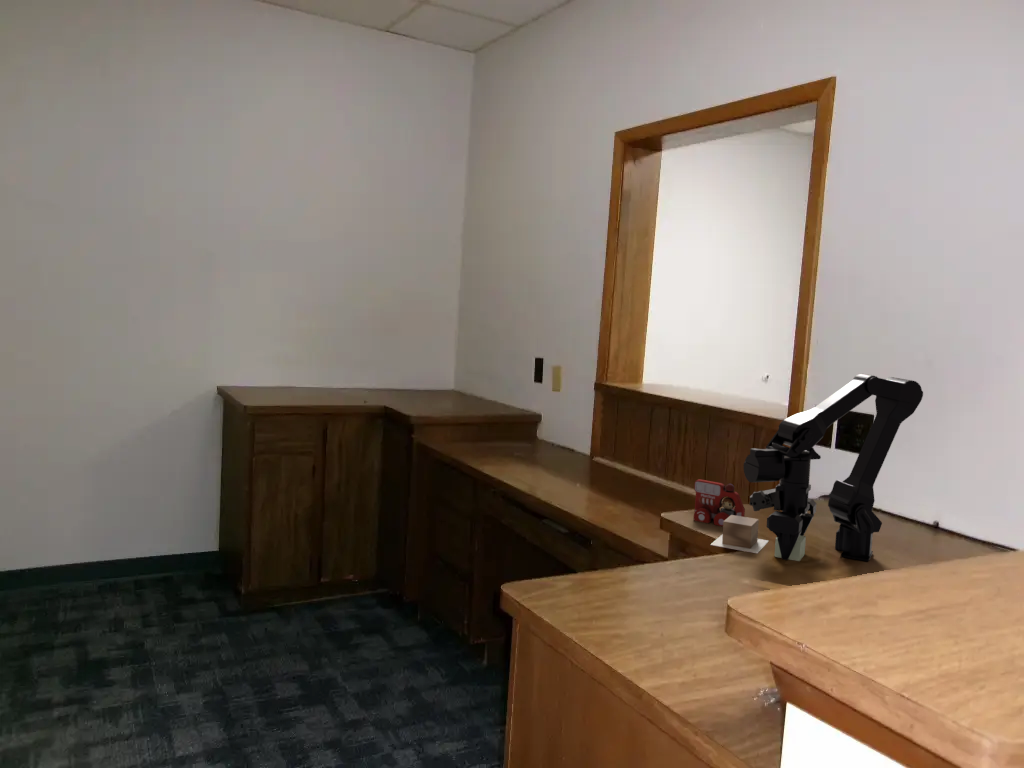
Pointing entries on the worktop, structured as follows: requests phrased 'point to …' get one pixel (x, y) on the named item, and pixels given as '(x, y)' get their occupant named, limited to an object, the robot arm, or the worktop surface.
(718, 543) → the build pad
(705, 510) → the toy fire truck
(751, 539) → the walnut block
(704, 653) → the worktop surface
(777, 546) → the sage cube
